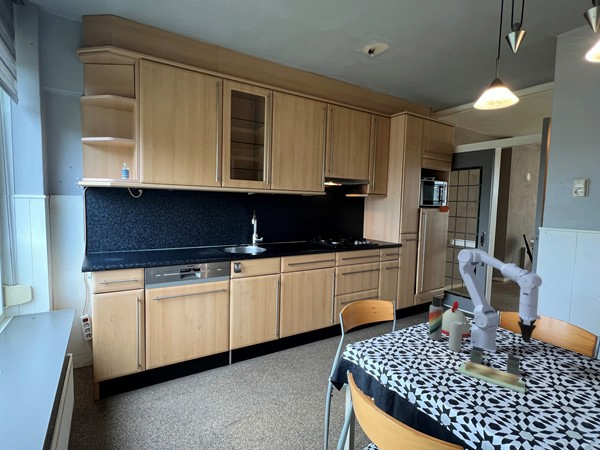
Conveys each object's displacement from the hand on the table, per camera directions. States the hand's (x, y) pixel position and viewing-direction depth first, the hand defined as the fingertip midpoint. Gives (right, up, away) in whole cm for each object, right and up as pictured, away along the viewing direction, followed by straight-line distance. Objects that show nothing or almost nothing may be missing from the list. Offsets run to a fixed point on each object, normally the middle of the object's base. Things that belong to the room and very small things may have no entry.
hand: (526, 337), depth 122 cm
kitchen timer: (-13, -9, +31) cm, 35 cm away
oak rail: (-21, -10, -11) cm, 26 cm away
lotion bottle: (-26, -9, +22) cm, 36 cm away
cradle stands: (-15, -10, -3) cm, 18 cm away
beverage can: (-23, -9, +11) cm, 27 cm away
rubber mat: (-21, -10, -11) cm, 26 cm away
